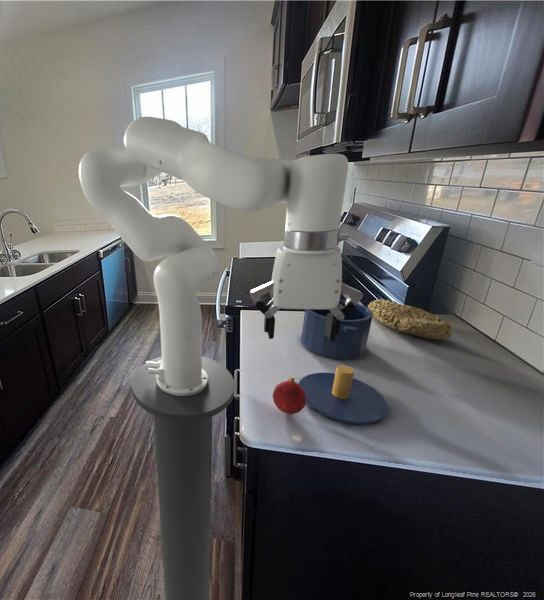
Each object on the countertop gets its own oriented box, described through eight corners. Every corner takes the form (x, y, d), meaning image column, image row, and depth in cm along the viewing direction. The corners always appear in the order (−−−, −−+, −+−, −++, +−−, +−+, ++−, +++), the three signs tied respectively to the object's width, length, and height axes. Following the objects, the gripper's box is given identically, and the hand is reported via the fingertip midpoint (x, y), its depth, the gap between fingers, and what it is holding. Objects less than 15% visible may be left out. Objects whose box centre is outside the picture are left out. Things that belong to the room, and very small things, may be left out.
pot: (311, 363, 77) (317, 324, 73) (294, 327, 95) (298, 295, 91) (379, 368, 74) (389, 327, 70) (348, 329, 92) (355, 296, 88)
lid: (307, 421, 60) (312, 390, 57) (291, 374, 74) (294, 347, 71) (403, 431, 56) (413, 398, 53) (367, 379, 70) (373, 351, 68)
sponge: (359, 319, 100) (401, 337, 81) (366, 295, 99) (411, 307, 79) (404, 327, 99) (457, 346, 79) (411, 302, 97) (468, 316, 78)
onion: (307, 424, 59) (313, 389, 56) (274, 422, 60) (278, 387, 57) (298, 404, 64) (303, 370, 61) (268, 402, 65) (272, 369, 62)
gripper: (362, 234, 51) (346, 329, 57) (250, 237, 55) (246, 325, 61) (383, 243, 45) (362, 349, 51) (254, 246, 49) (249, 344, 55)
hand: (299, 336), depth 56 cm, fingers open, 9 cm apart
